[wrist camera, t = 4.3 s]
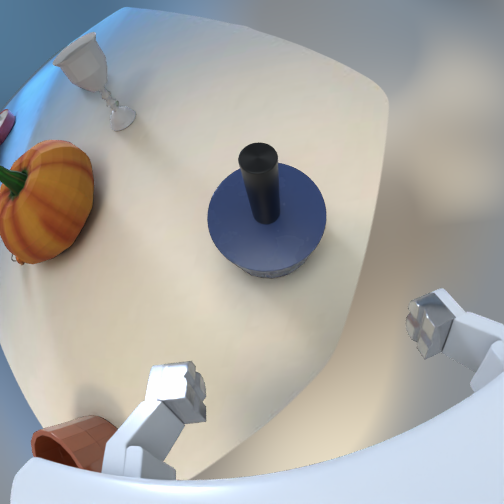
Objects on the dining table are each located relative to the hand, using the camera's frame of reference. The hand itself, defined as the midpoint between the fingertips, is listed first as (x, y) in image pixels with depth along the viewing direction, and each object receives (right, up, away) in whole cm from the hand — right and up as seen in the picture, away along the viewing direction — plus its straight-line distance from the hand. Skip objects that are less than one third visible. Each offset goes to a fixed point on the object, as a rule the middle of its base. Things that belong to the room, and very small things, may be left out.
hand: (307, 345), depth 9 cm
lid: (-1, +7, +18) cm, 19 cm away
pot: (-22, -23, +17) cm, 37 cm away
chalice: (-24, +26, +32) cm, 48 cm away
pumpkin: (-33, +10, +28) cm, 44 cm away
